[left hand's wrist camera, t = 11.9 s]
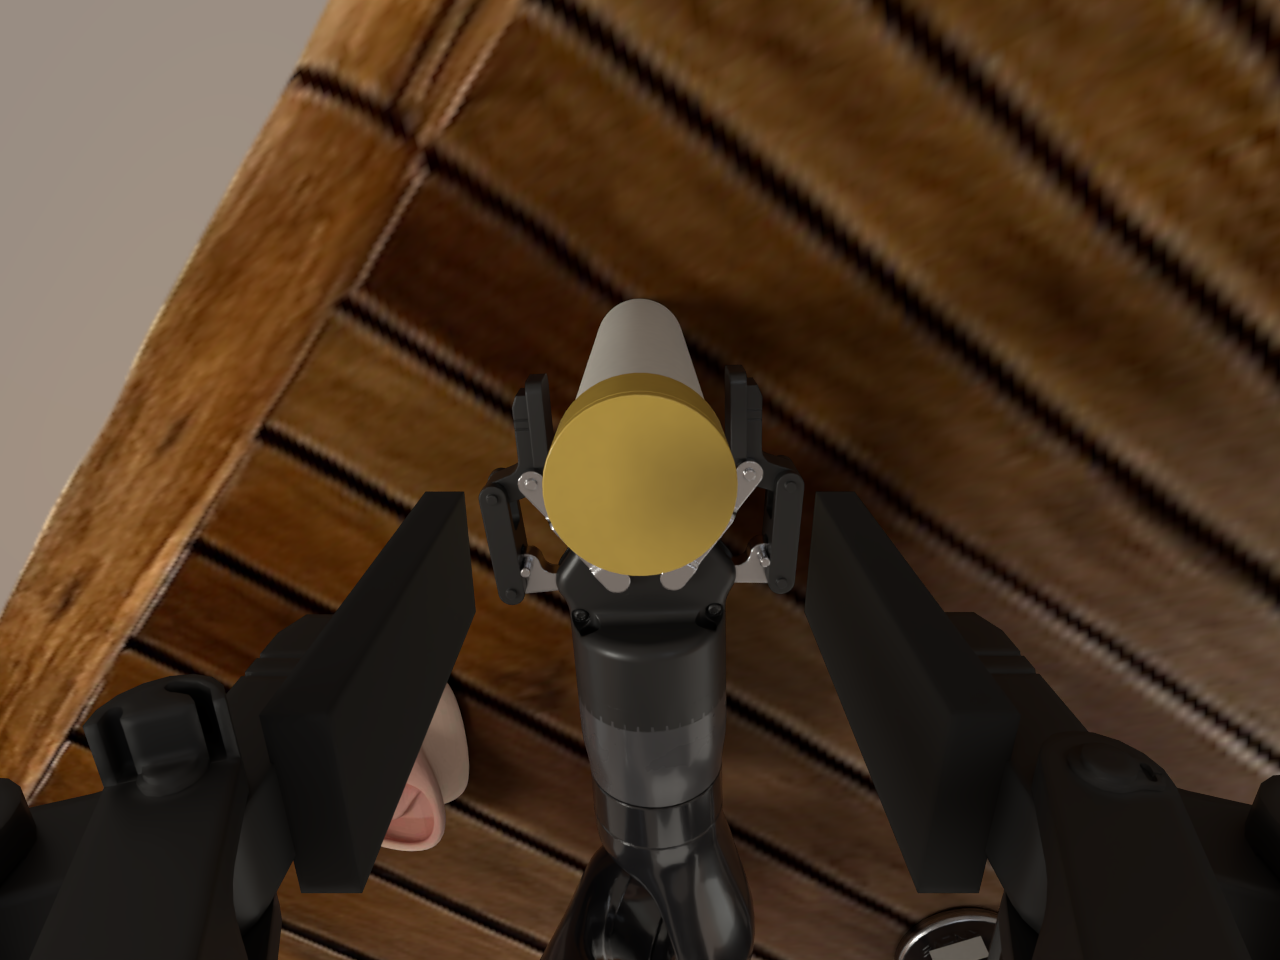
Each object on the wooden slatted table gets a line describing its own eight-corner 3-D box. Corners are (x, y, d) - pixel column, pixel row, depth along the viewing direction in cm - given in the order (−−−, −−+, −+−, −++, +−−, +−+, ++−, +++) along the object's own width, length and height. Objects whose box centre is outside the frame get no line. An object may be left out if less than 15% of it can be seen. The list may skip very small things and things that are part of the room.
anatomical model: (243, 668, 38) (456, 687, 39) (278, 627, 42) (472, 644, 43) (263, 849, 43) (453, 864, 44) (293, 799, 47) (468, 813, 47)
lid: (698, 348, 19) (706, 367, 16) (746, 508, 20) (760, 546, 18) (527, 404, 19) (512, 430, 17) (587, 556, 21) (581, 597, 19)
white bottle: (668, 286, 35) (698, 375, 17) (693, 369, 37) (746, 533, 18) (584, 314, 36) (527, 430, 17) (613, 395, 37) (587, 580, 19)
